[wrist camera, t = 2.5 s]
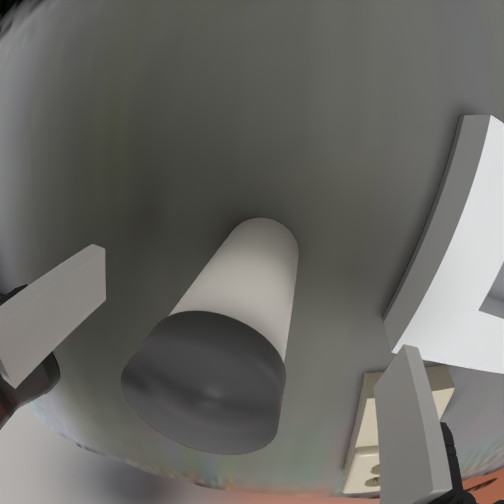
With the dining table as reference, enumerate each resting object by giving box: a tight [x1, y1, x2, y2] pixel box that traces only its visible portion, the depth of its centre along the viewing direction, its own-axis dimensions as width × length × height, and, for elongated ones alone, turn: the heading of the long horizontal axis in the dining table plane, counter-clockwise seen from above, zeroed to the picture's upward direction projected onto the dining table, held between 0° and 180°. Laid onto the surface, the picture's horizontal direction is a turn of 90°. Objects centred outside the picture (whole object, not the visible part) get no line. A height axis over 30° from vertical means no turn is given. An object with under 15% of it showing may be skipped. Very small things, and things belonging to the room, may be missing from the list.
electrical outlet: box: [342, 364, 455, 494], centre depth 22 cm, size 7×4×18 cm
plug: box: [121, 218, 299, 455], centre depth 13 cm, size 5×5×12 cm
